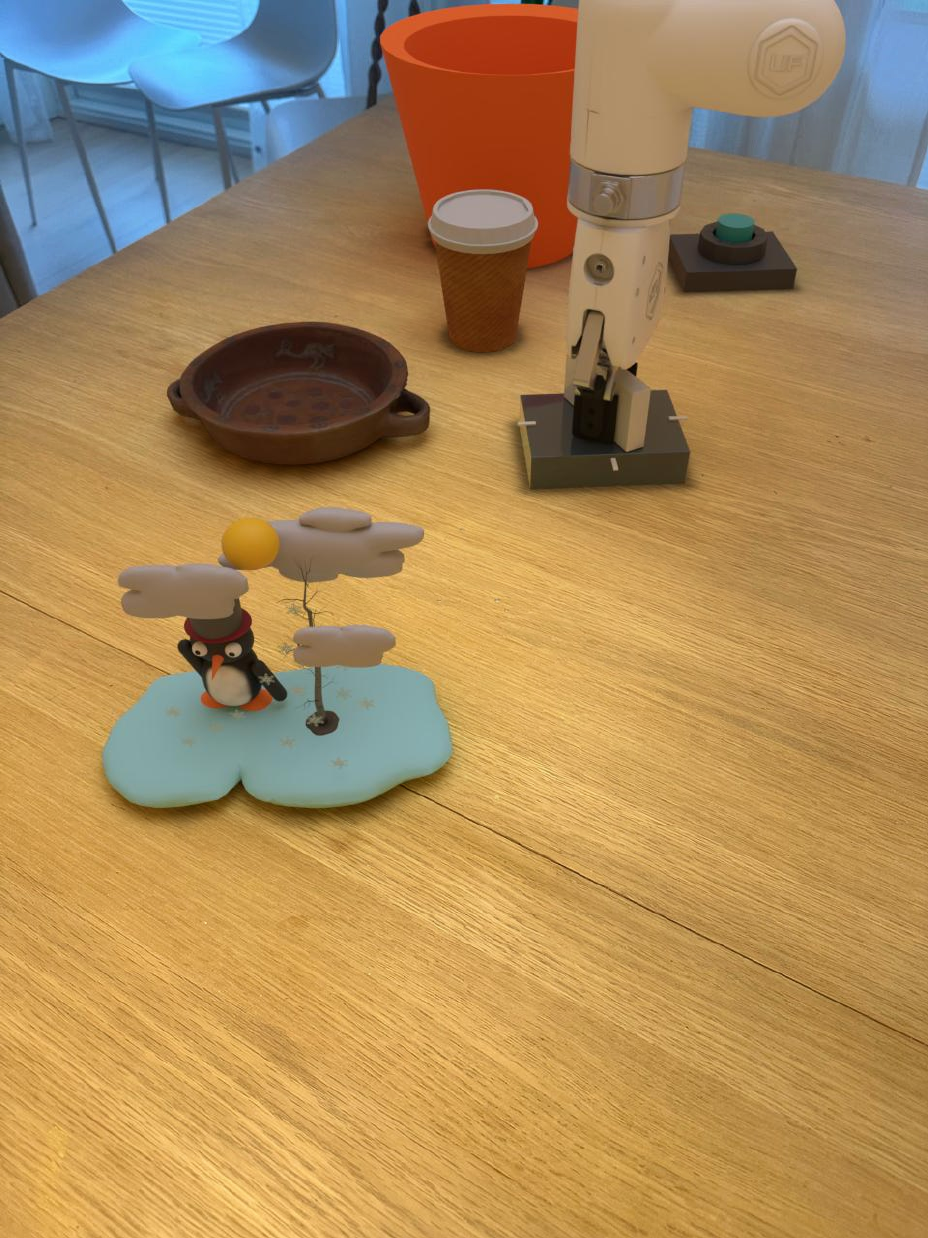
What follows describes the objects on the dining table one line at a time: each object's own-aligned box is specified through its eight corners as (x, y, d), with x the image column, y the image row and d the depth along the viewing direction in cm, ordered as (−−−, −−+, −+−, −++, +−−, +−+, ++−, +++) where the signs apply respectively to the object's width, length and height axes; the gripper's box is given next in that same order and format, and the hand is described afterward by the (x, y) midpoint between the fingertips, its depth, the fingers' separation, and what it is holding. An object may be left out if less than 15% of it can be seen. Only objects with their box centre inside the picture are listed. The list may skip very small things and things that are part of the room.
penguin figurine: (90, 821, 58) (6, 620, 48) (135, 681, 66) (71, 482, 56) (452, 819, 58) (447, 617, 48) (454, 679, 66) (449, 480, 56)
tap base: (665, 407, 89) (669, 373, 87) (699, 500, 79) (705, 465, 77) (509, 412, 89) (510, 379, 86) (524, 506, 79) (526, 472, 77)
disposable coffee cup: (516, 368, 94) (520, 237, 86) (416, 352, 96) (411, 222, 88) (545, 320, 100) (551, 194, 92) (451, 306, 103) (448, 181, 95)
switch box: (768, 251, 111) (776, 213, 109) (792, 289, 105) (801, 250, 102) (666, 254, 111) (670, 216, 108) (683, 293, 105) (689, 254, 102)
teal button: (746, 229, 107) (749, 212, 106) (755, 244, 104) (758, 226, 103) (711, 230, 107) (714, 213, 106) (719, 245, 104) (722, 228, 103)
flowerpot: (536, 178, 127) (544, -8, 114) (669, 253, 111) (695, 46, 98) (351, 223, 118) (335, 25, 104) (467, 311, 102) (465, 92, 89)
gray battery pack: (644, 446, 79) (651, 385, 76) (626, 452, 79) (633, 390, 75) (580, 391, 85) (584, 332, 82) (563, 396, 85) (567, 337, 81)
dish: (208, 363, 95) (198, 311, 92) (449, 379, 93) (448, 327, 89) (136, 473, 82) (122, 418, 79) (413, 496, 80) (410, 440, 77)
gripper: (646, 242, 63) (618, 492, 75) (710, 149, 74) (676, 379, 86) (527, 223, 65) (519, 469, 77) (607, 135, 76) (589, 362, 89)
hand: (602, 419), depth 82 cm, fingers closed on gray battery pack, 4 cm apart
